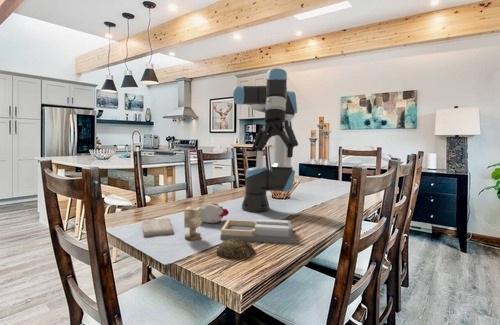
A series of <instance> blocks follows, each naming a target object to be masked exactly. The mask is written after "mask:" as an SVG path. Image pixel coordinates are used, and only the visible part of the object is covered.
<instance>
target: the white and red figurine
mask: <svg viewBox="0 0 500 325" xmlns="http://www.w3.org/2000/svg"><path fill="white" fill-rule="evenodd" d="M198 207H201V223H206V224H218V223H220V222H221V221H222V220H223V218H224V217H227V216H228V215H229V210H228V209H227V208H223V206H221V205H219V204H218V203H209V202H202V203H201V204H199V206H198Z"/></svg>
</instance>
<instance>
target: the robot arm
mask: <svg viewBox="0 0 500 325" xmlns="http://www.w3.org/2000/svg"><path fill="white" fill-rule="evenodd" d="M287 76H288V74H287V71H286V70H285V69H283V68H279V67H278V68H272V69H269V70H268V71H267V72H266V85H238V86H235V87H234V88H233V92H232V98H233V103H234V104H235V105H247V106H249V107H250V108H252V110H254V111H258V112H261V113H264V121H265V125H261V124H260V125H259V127H258V131H257V134H256V136H255V138H254V142H253V145H252V146H251V149H252V150H253V151H255V159H256V164H255V165H256V166H255V167H254V166H253V167H249V168H247V169H246V170H245V175H244V176H245V178H244V179H245V192H244V197H243V201H242V203H241V209H242V211H246V212H250V213H251V212H252V213H261V212H266V211H267V212H268V211H269V210H270V204H269V200H268V197H267V191H268V192H270V191H271V192H283V193H284V192H286V193H287V192H291V191H292V190H293V186H294V180H295V174H296V170H294V168H293V165H292V158H293V155H294V154H293V153H294V148H295V147H298V146H299V143H298V140H297V137H296V135H295V132H294V130H293V126H292V120H293V119H294V118H295V114H298V106H297V105H298V104H297V95H296V93H295V91H288V89H287V88H288V87H287V82H288V81H287V80H288V77H287ZM272 137H274V156H273V164H272V165H270V169H268V167H267V166H264V151H263V149H264V147H265V146H266V145H267V143H268V141H269V140H270V139H272Z"/></svg>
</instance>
